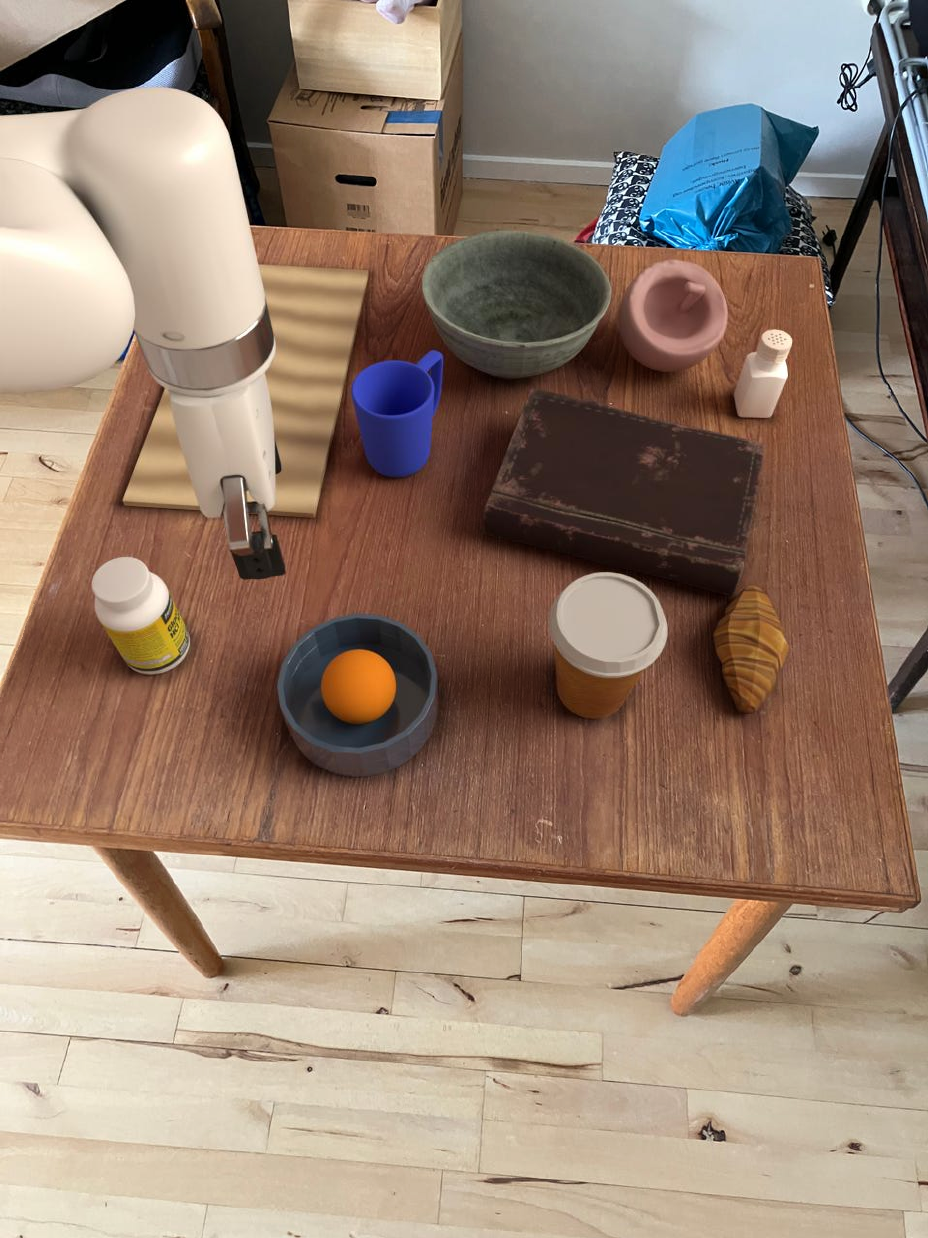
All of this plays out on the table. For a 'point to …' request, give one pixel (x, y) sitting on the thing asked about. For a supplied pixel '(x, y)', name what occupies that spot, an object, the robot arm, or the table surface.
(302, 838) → the table surface
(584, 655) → the disposable coffee cup
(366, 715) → the orange
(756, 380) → the salt shaker
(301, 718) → the fruit bowl
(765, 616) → the croissant
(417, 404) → the mug
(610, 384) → the table surface
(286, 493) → the serving board
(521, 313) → the bowl
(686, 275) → the mortar and pestle
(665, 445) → the diary
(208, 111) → the robot arm
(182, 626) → the pill bottle
